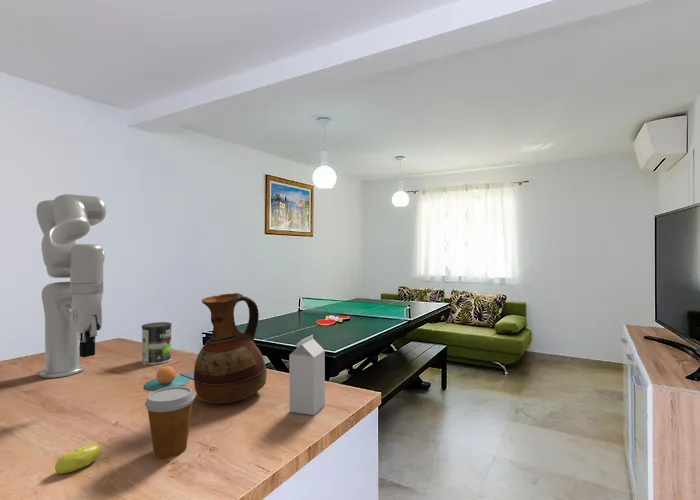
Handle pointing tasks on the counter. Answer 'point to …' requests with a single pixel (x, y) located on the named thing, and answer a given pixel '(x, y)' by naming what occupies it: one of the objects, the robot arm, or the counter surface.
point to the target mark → (156, 385)
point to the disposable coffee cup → (169, 419)
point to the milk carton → (307, 377)
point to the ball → (165, 375)
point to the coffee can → (156, 343)
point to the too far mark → (189, 374)
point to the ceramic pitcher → (229, 354)
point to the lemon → (77, 458)
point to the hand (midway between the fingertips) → (87, 355)
